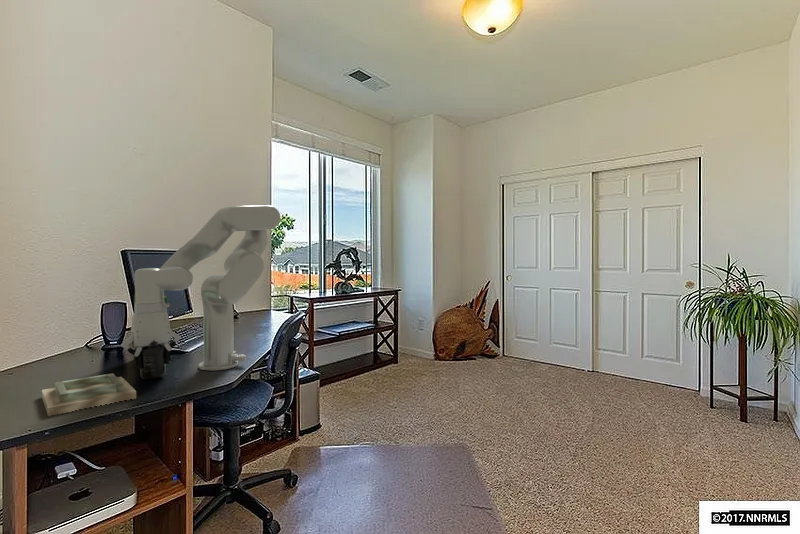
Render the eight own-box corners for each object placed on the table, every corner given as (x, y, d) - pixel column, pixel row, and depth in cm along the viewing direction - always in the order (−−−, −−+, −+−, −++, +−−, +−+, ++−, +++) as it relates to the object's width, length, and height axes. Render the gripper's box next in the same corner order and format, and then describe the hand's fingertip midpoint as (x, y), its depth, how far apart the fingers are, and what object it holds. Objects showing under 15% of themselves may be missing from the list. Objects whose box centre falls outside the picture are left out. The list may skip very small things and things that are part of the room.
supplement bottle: (171, 373, 131) (169, 335, 130) (151, 380, 124) (150, 340, 124) (154, 371, 133) (153, 334, 132) (135, 378, 126) (133, 339, 126)
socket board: (121, 383, 124) (121, 369, 124) (136, 398, 111) (136, 383, 111) (41, 397, 111) (41, 382, 111) (48, 416, 98) (47, 399, 98)
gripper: (177, 304, 136) (179, 357, 137) (114, 310, 124) (116, 369, 125) (184, 306, 131) (187, 362, 132) (119, 313, 119) (122, 374, 120)
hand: (152, 365), depth 128 cm, fingers closed on supplement bottle, 6 cm apart
